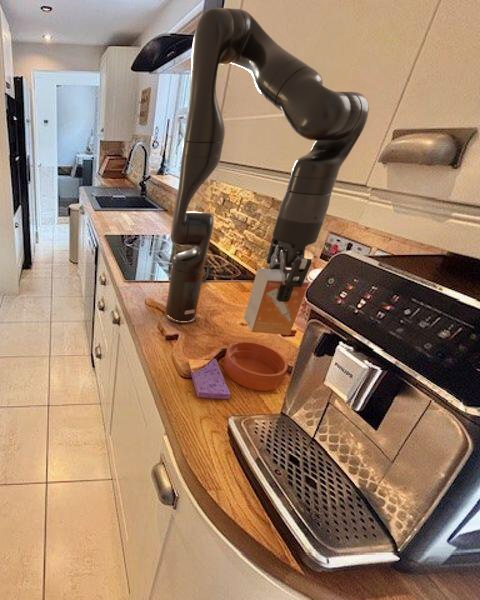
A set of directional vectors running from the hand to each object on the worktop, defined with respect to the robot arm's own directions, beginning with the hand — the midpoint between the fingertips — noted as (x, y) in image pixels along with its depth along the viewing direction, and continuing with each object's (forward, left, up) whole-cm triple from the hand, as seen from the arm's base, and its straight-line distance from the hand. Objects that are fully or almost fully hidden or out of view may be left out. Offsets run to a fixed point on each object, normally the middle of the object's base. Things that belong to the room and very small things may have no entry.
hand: (276, 292), depth 70 cm
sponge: (+4, -11, -23) cm, 26 cm away
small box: (0, 0, -9) cm, 9 cm away
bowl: (0, 0, -22) cm, 22 cm away
